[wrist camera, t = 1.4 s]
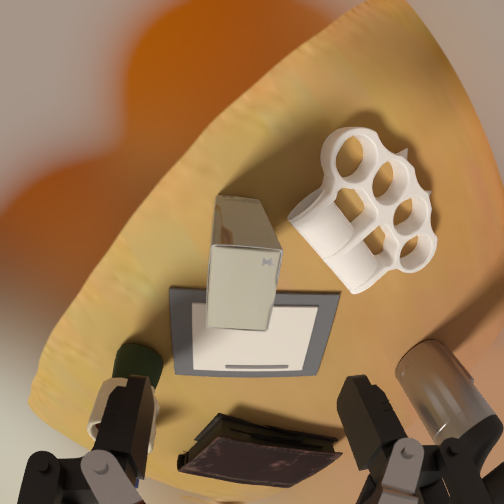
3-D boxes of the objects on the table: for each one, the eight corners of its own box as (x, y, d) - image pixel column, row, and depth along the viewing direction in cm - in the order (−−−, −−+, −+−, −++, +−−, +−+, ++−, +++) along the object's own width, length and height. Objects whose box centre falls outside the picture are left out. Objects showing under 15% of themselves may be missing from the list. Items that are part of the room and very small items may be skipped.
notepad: (338, 293, 33) (341, 296, 33) (315, 373, 38) (317, 377, 38) (169, 287, 31) (168, 291, 30) (175, 372, 36) (174, 376, 35)
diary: (283, 472, 53) (287, 490, 48) (177, 452, 46) (176, 474, 41) (339, 433, 47) (346, 454, 42) (221, 408, 40) (221, 434, 36)
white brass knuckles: (262, 191, 29) (368, 100, 26) (359, 301, 35) (441, 224, 32) (267, 199, 25) (384, 98, 23) (370, 316, 32) (458, 233, 29)
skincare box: (215, 193, 28) (209, 238, 17) (260, 198, 28) (286, 244, 17) (209, 256, 30) (203, 330, 19) (252, 259, 31) (269, 334, 20)
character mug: (141, 389, 37) (125, 465, 25) (100, 362, 35) (71, 437, 23) (187, 351, 35) (178, 439, 23) (140, 318, 32) (111, 404, 20)
